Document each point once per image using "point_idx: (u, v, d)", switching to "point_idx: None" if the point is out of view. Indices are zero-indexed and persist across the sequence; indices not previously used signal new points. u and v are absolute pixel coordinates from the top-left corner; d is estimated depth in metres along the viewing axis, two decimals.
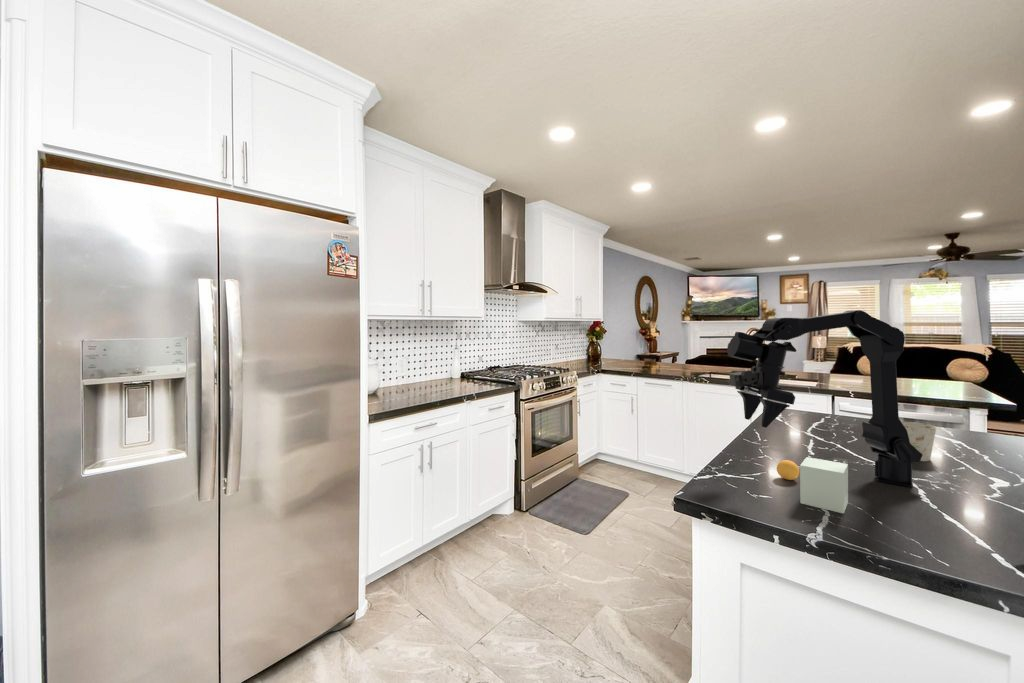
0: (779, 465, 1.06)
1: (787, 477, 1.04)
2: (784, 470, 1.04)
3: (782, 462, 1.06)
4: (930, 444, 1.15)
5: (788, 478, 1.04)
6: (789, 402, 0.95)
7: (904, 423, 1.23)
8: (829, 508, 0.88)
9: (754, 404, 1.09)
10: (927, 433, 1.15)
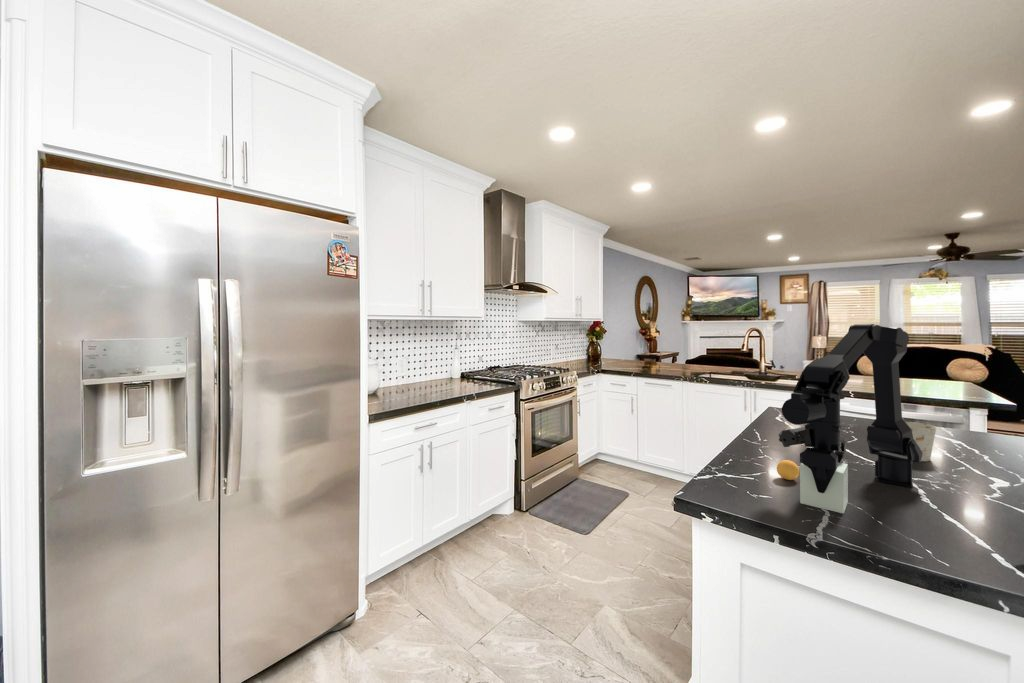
0: (779, 465, 1.06)
1: (787, 477, 1.04)
2: (784, 470, 1.04)
3: (782, 462, 1.06)
4: (930, 444, 1.15)
5: (788, 478, 1.04)
6: (827, 466, 0.83)
7: None
8: (829, 508, 0.88)
9: None
10: (927, 433, 1.15)
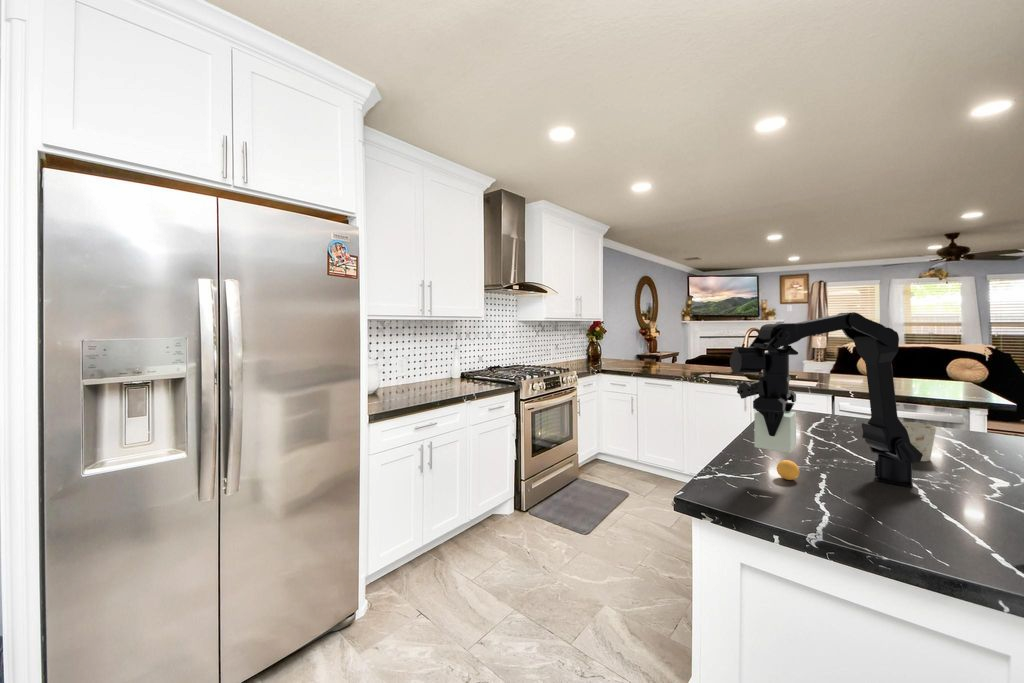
0: (779, 465, 1.06)
1: (787, 477, 1.04)
2: (784, 470, 1.04)
3: (782, 462, 1.06)
4: (930, 444, 1.15)
5: (788, 478, 1.04)
6: (775, 409, 0.95)
7: (904, 423, 1.23)
8: (778, 449, 0.99)
9: None
10: (927, 433, 1.15)
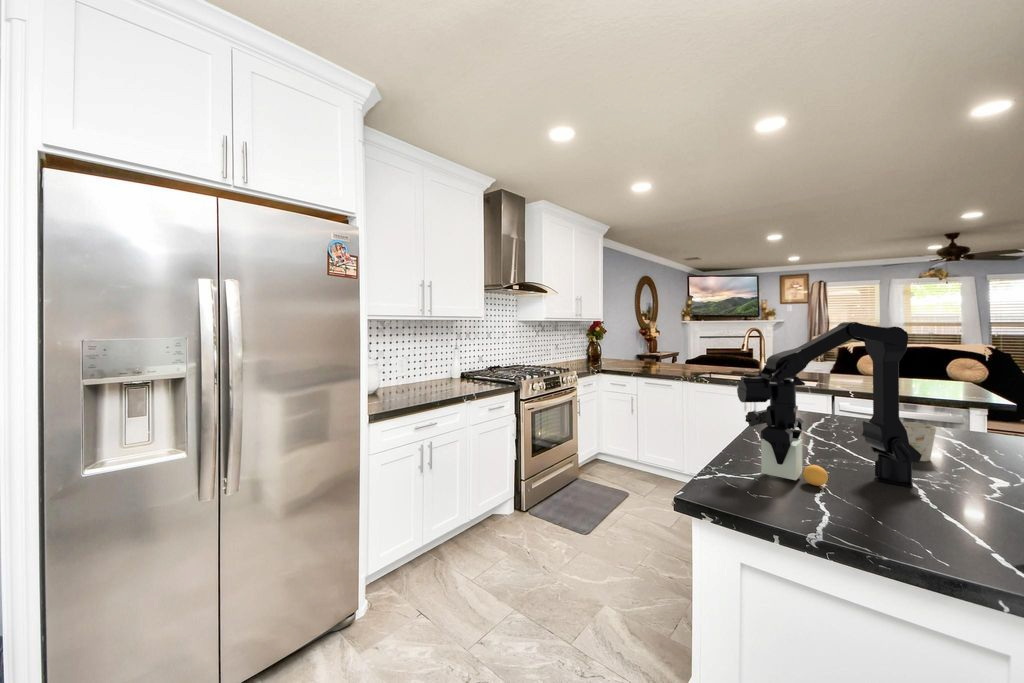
0: (824, 477, 0.99)
1: (808, 474, 1.01)
2: (816, 478, 0.99)
3: (825, 480, 0.99)
4: (930, 444, 1.15)
5: (806, 472, 1.01)
6: (782, 440, 0.98)
7: (904, 423, 1.23)
8: (784, 476, 1.03)
9: None
10: (927, 433, 1.15)
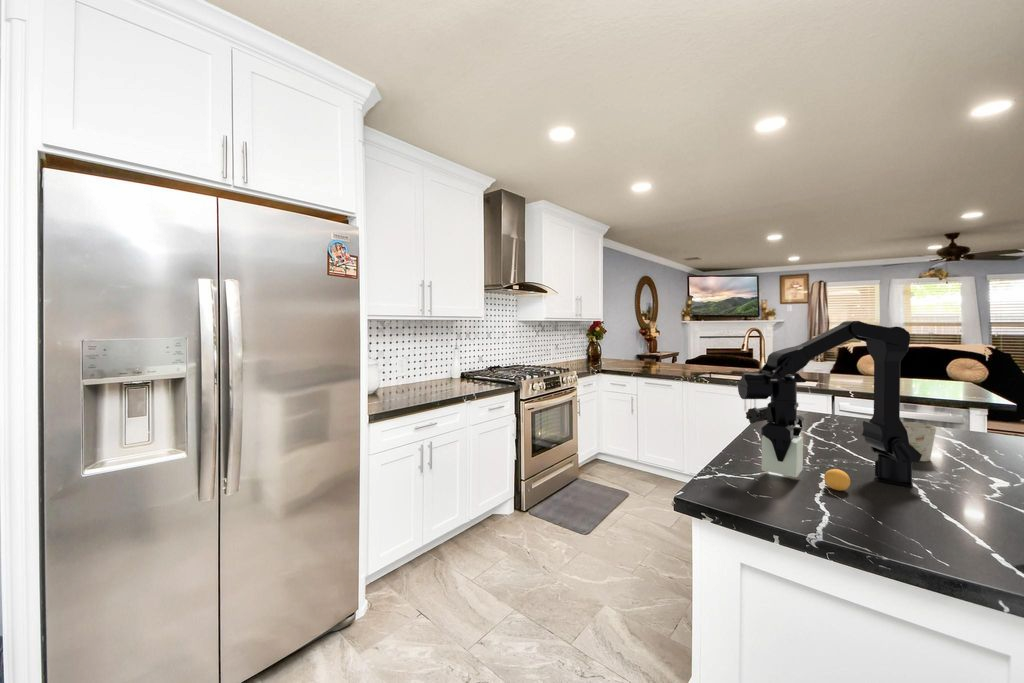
0: (836, 489, 0.97)
1: (839, 478, 0.96)
2: (834, 484, 0.97)
3: None
4: (930, 444, 1.15)
5: (841, 476, 0.96)
6: (783, 437, 0.98)
7: (904, 423, 1.23)
8: (785, 473, 1.03)
9: None
10: (927, 433, 1.15)
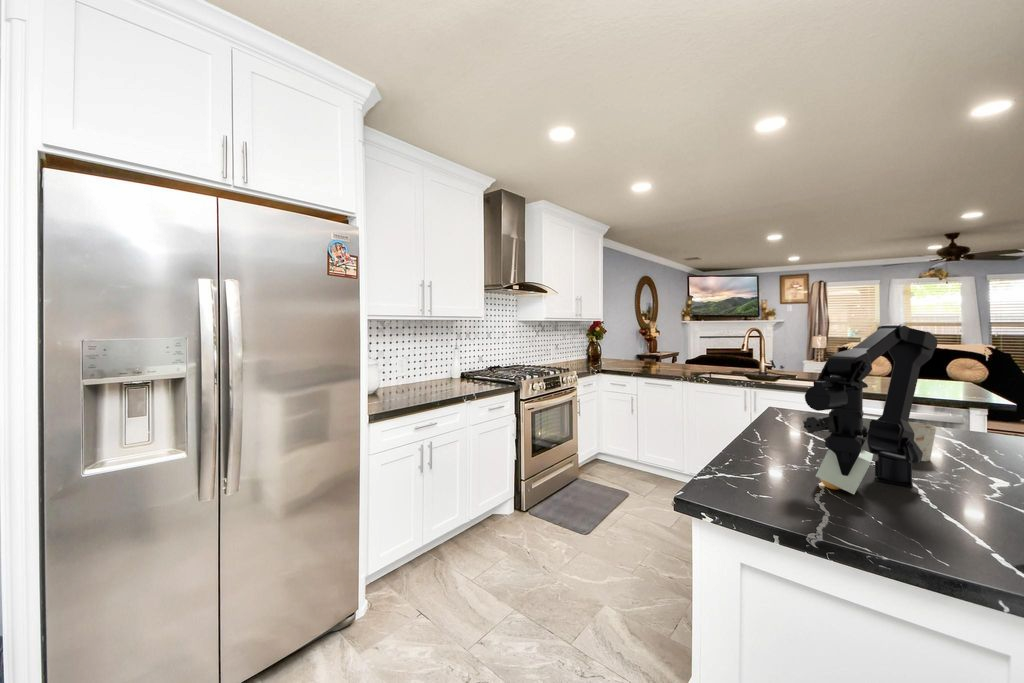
0: (835, 488, 0.97)
1: None
2: (831, 484, 0.97)
3: (831, 488, 0.98)
4: (930, 444, 1.15)
5: None
6: (852, 449, 0.89)
7: None
8: (842, 487, 0.95)
9: None
10: (927, 433, 1.15)
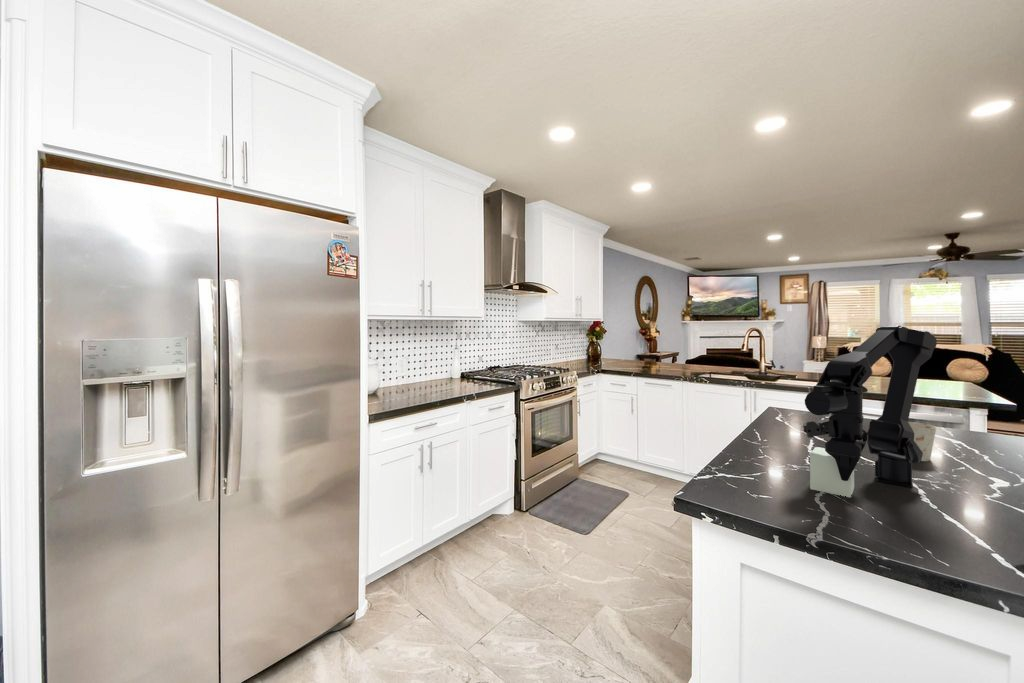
0: None
1: None
2: None
3: None
4: (930, 444, 1.15)
5: None
6: (852, 454, 0.89)
7: None
8: (837, 493, 0.95)
9: None
10: (927, 433, 1.15)
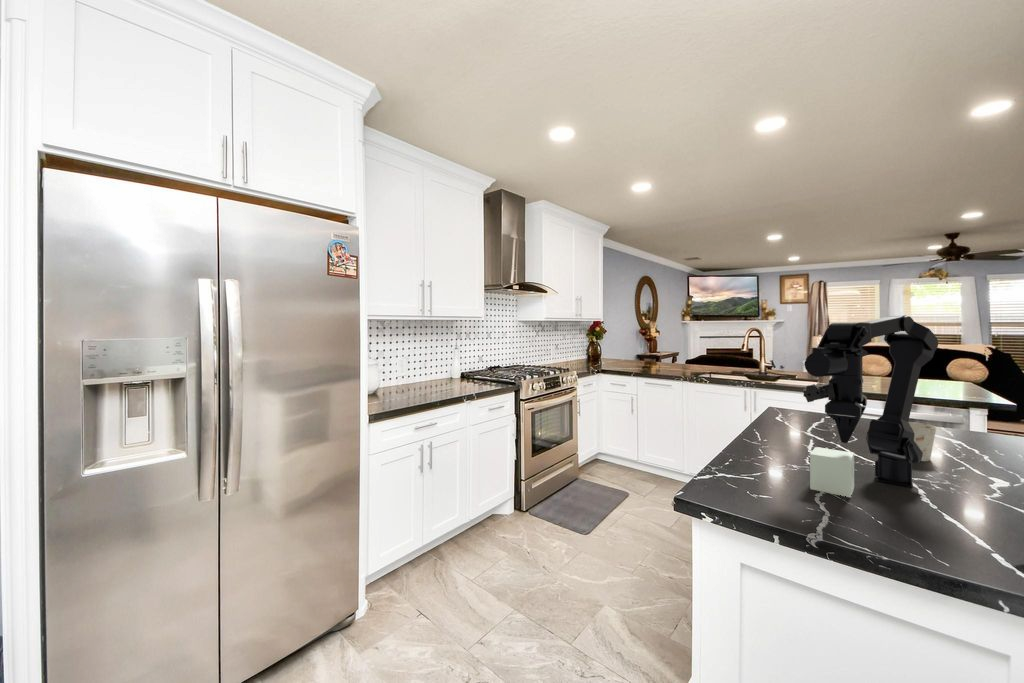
0: None
1: None
2: None
3: None
4: (930, 444, 1.15)
5: None
6: (852, 414, 0.89)
7: None
8: (837, 493, 0.95)
9: None
10: (927, 433, 1.15)
